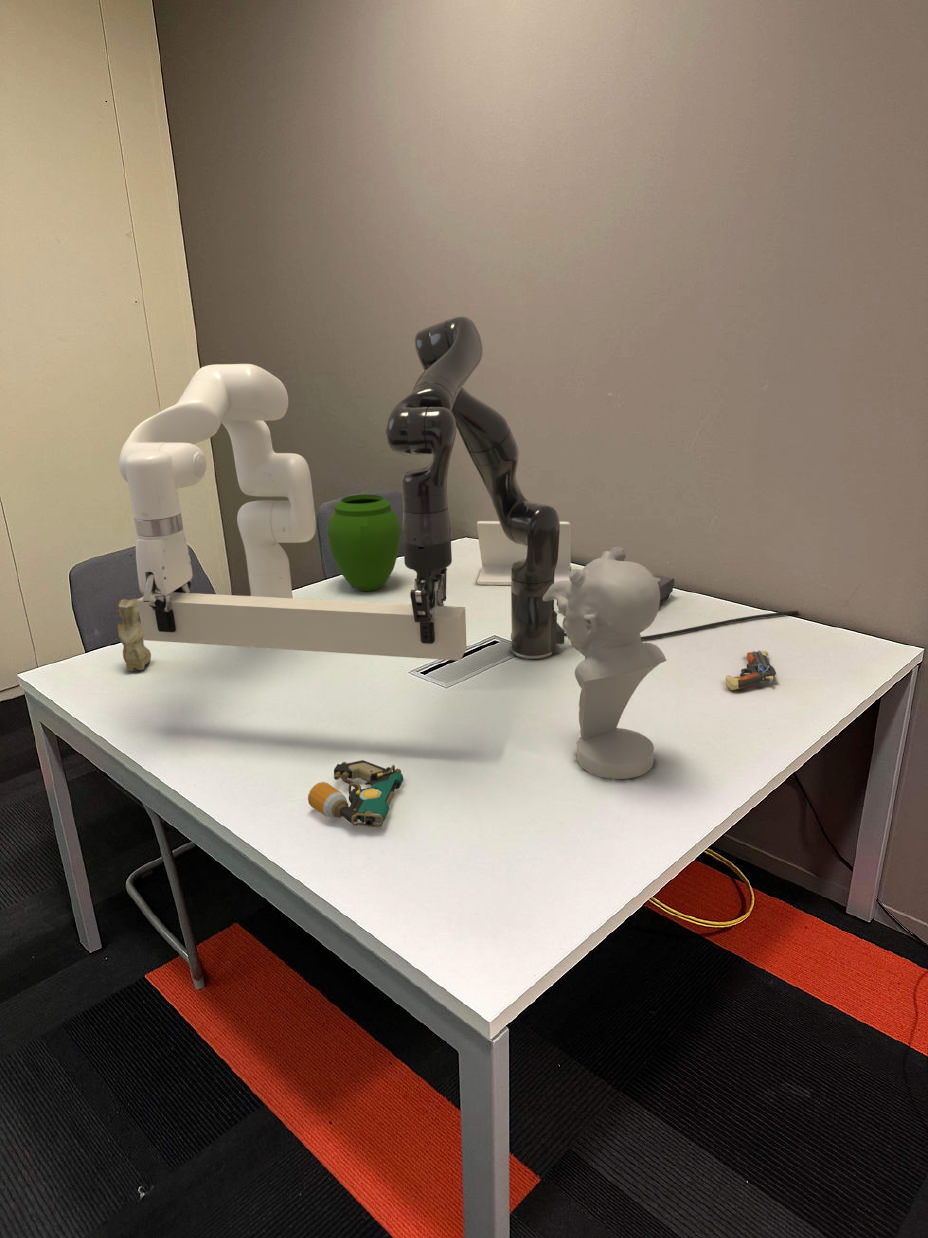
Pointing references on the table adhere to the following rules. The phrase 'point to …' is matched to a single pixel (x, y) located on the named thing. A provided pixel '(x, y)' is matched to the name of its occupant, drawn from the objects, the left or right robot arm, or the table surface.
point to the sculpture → (132, 635)
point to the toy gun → (753, 671)
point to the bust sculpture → (610, 658)
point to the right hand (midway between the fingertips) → (432, 636)
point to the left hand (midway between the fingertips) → (175, 624)
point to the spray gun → (358, 793)
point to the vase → (364, 540)
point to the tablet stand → (513, 554)
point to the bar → (308, 625)
